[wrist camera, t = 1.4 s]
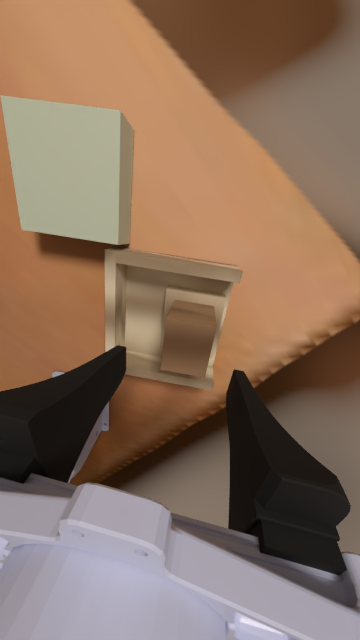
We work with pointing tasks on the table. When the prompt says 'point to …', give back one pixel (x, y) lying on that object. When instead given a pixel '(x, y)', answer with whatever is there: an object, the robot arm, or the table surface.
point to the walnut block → (188, 338)
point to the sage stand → (71, 168)
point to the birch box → (159, 306)
